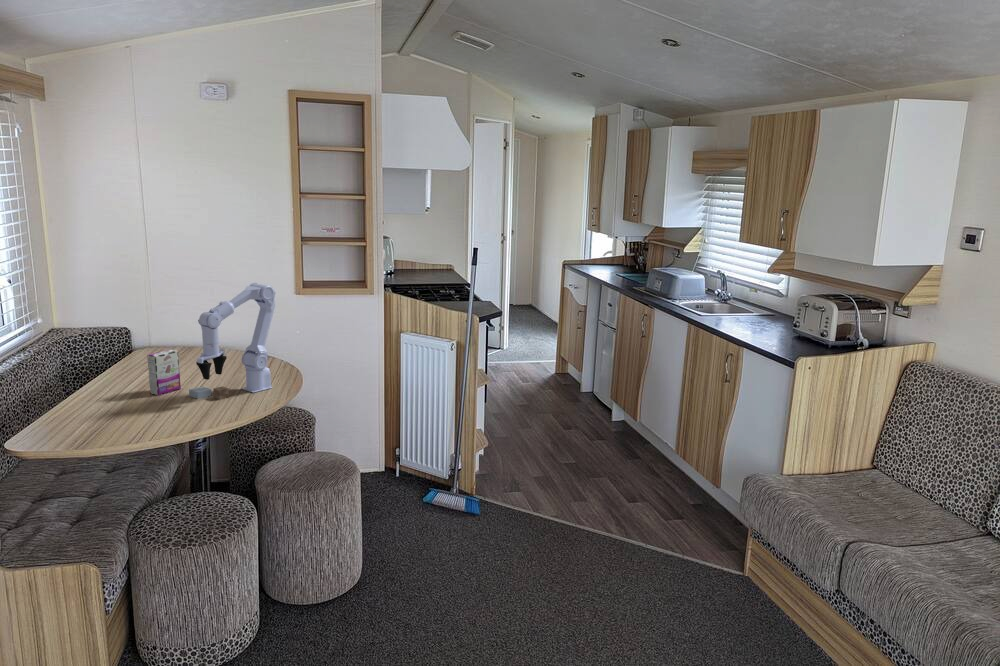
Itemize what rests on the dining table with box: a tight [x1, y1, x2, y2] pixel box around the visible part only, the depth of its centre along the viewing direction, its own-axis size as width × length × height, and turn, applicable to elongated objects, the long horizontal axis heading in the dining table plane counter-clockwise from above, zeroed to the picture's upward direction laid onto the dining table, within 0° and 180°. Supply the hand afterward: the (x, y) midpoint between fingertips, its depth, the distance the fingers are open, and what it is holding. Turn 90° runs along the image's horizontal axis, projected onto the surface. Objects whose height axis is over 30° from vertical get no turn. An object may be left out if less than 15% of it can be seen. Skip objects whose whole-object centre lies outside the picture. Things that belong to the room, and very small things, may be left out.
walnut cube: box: [212, 386, 230, 401], centre depth 282 cm, size 4×4×4 cm
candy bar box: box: [146, 348, 182, 396], centre depth 285 cm, size 11×5×16 cm, turn 155°
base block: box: [188, 386, 213, 400], centre depth 283 cm, size 6×6×3 cm
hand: (212, 376), depth 278 cm, fingers open, 7 cm apart
